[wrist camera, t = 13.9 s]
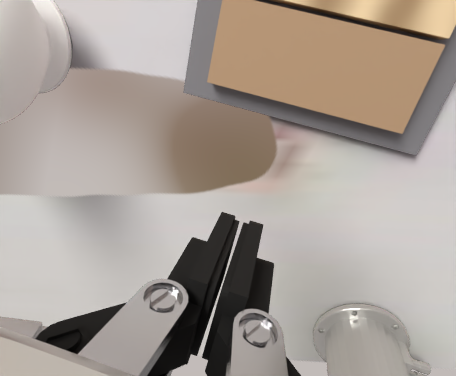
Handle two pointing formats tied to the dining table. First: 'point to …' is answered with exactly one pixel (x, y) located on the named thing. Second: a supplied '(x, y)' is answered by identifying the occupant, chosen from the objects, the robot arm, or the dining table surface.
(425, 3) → the board
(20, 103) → the decorative vase
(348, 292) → the dining table surface
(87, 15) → the dining table surface
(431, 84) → the floor board
